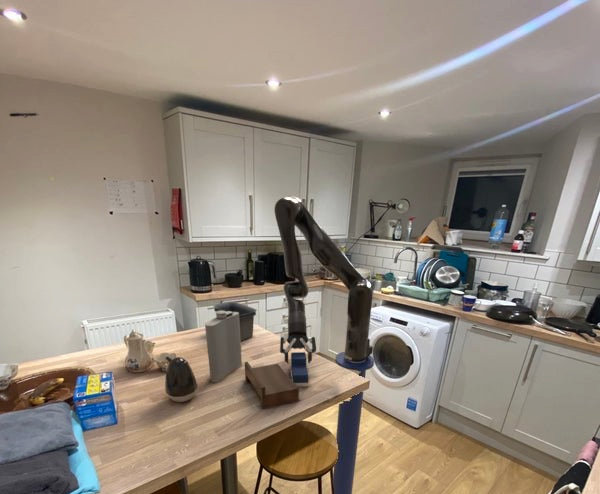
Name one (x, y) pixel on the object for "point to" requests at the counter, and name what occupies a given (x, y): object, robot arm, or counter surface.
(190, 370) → the dark brown tall dome
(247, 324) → the storage bin
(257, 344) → the counter surface
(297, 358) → the trainer
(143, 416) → the counter surface
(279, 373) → the shoe shelf
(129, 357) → the chinaware
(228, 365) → the flask
